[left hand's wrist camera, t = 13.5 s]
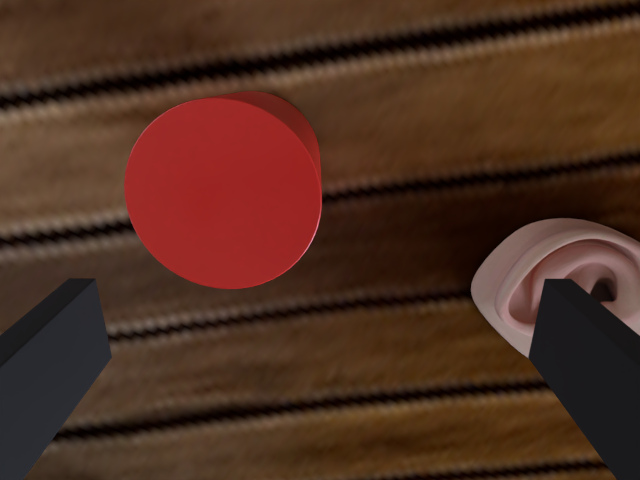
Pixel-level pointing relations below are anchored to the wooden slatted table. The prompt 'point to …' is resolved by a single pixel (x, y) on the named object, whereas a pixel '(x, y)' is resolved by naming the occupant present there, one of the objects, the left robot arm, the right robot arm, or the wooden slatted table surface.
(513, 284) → the anatomical model
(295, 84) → the wooden slatted table surface
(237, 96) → the cylinder
